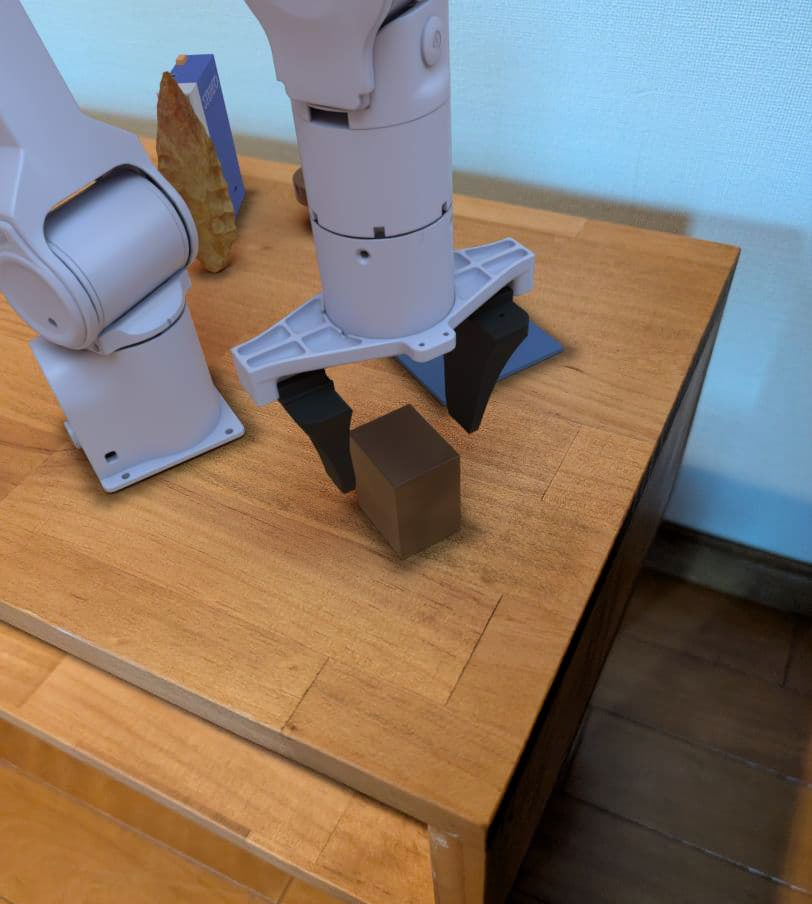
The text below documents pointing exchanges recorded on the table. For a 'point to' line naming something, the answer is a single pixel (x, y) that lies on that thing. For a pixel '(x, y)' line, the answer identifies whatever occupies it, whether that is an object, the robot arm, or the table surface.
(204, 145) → the stone tool
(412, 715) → the table surface
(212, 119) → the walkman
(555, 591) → the table surface
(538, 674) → the table surface
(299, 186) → the mushroom
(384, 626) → the table surface
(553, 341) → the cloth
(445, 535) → the block
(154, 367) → the robot arm
